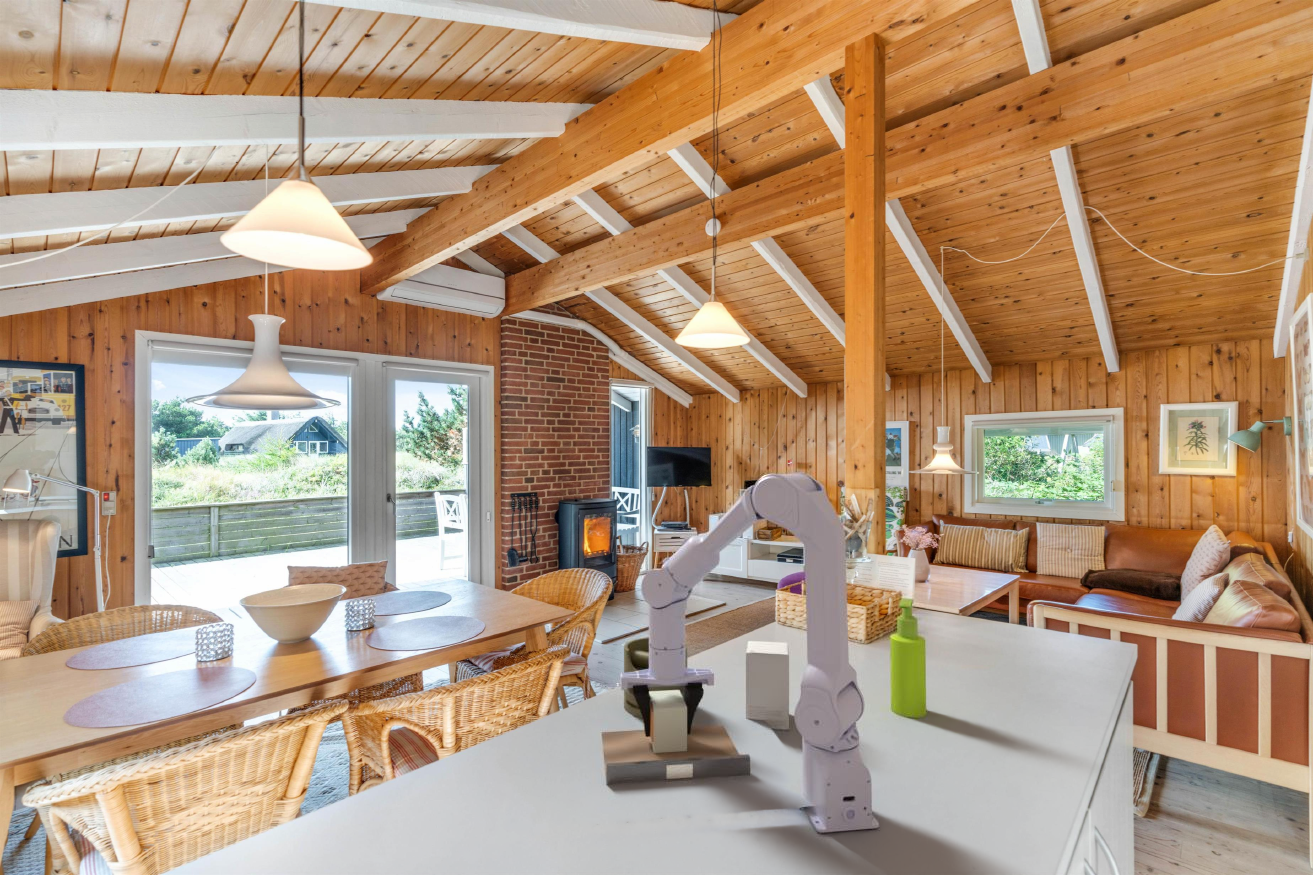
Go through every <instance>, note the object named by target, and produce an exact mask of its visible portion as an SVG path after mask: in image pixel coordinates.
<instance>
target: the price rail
mask: <svg viewBox="0 0 1313 875" xmlns="http://www.w3.org/2000/svg"><path fill="white" fill-rule="evenodd" d="M738 775H743V776H751V756H750V754H739V755H732V756H716V757H701V758H685V759H669V760H654V761H638V762H623V763H607V764H606V774H605V783H606V784H612V785H622V784H621V783H627V784H637V783H636V782H641V783H651V782H650V781H656V782H665V780H670V781H680V780H679V779H685V780H695V779H694V778H699V779H709V778H708V777H714V778H724V777H723V776H728V777H738ZM606 784H605V785H606Z"/></svg>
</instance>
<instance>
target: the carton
mask: <svg viewBox="0 0 1313 875" xmlns="http://www.w3.org/2000/svg"><path fill="white" fill-rule="evenodd" d="M649 695H650V739H651V743H652V747H653V751H654V753H662V752H678V751H687V706H686V704H685V702H684V699H683V697H682V695H681V693H680V690H667V691H649Z"/></svg>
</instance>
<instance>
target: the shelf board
mask: <svg viewBox="0 0 1313 875" xmlns="http://www.w3.org/2000/svg"><path fill="white" fill-rule="evenodd" d="M601 740H602V752H603V761H604V772H605V775H606V764H607V763H623V762H638V761H654V760H669V759H685V758H701V757H716V756H732V755H740V753H739V752H738V749H737V748H736V746H735V744H734V743H733V741H732V739H731V736H730V735H729V733H728V731H727V730H726V728H725V725H721V724H720V725H707V726H706V725H705V726H691V731H690V734H687V751H678V752H662V753H654V751H653V747H652V743H651V739H650V737H646V736H645V732H644V729H634V730H621V731H620V730H618V731H603V732H601ZM738 776H739V777H740V776H744V775H738ZM738 776H737V777H738ZM728 777H729V776H723V777H722V778H728ZM712 778H713V779H714V778H715V777H708V778H707V779H712ZM695 779H696V780H698V779H700V778H694V779H693V780H695ZM683 780H686V779H679V780H678V781H683ZM665 781H671V780H665ZM665 781H664V782H665ZM653 782H654V783H655V782H657V781H650V782H649V783H653ZM637 783H642V782H636V783H635V784H637ZM623 784H628V783H621V784H620V785H623ZM605 785H606V786H608V785H609V786H612V785H613V784H605Z"/></svg>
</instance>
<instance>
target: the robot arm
mask: <svg viewBox="0 0 1313 875" xmlns="http://www.w3.org/2000/svg"><path fill="white" fill-rule="evenodd" d="M764 520H766V521H768V522H770V523H773V524H775V525H777V526H780V527H781V528H784V529H785V530H788V531H789V532H790V534H792V535H793V536H794V537H795V538H797V539H798V540H799V541H800V542H801V543H802V544H803V546H804V578H805V580H804V581H805V582H804V583H805V584H804V585H805V587H804V588H805V614H806V617H805V618H806V621H805V622H806V623H805V624H806V653H807V654H806V656H807V657H806V658H807V659H806V660H807V662H806V663H807V664H806V667H805V671H804V674H803V677H802V680H801V683H800V697H799V700H798V702H797V704H796V706H795V708H794V713H793V714H794V723H795V726H796V729H797V731H798V732H799V733H800V735H801V737H802V740H801V742H802V745H801V746H802V795H803V797H804V799H805V800H806V801H807V802H808V803H809V804H810V805H808V806H801V808H802V810H803V811H804V813H805V815H806V817H807V818H808V820H809V821H810V823H811V824H812V826H813V827H814V828H815V830H816V832H818V833H821V834H822V833H834V832H846V831H857V830H859V831H860V830H868V829H871V830H872V829H878V828H879V827H880V823H879V821H878V820H877V819H876V818H875V817H874V815H873V809H872V808H873V802H872V798H873V797H872V796H873V793H872V790H873V789H872V784H873V783H872V776H871V773H870V771H869V769H868V767H867V766H866V764H865V762H864V761H863V759H862V756H861V752H860V751H861V750H860V735H859V731H858V728H857V722H858V721H859V720H860V719H861V718H862V717H863V714H864V711H865V698H864V696H863V693H862V691H861V689H860V687H859V684H858V681H857V680H858V679H857V677H858V676H857V671H856V669H855V668H854V667H853V665H851V664H850V661H849V659H850V658H849V656H850V655H849V632H848V627H849V625H848V623H849V621H848V620H849V619H848V592H847V560H846V559H847V556H846V554H847V553H846V530H845V526H844V524H843V522H842V521H841V518H840V516H838V513H837V512H836V510H835V508H834V507H833V505H832V503H831V501H830V500H829V498H828V495H827V491H826V487H825V486H824V485H823V484H821V482H819V481H818V480H816V479H815V478H814V477H812V476H811V475H809V474H808V473H805V472H800V471H798V472H791V473H784V474H783V473H781V474H779V473H769V474H768V473H767V474H765V475H763V476H762V477H760V478H759V479H757V481H756V482H755V484H753V485H751V486H750V487H747V489H745V491H744V492H743V494H742V495H741V496H740V498H738V500H737V501H736V502H735V503H734V504H733V505H732V506H731V507H730V508H729V509H728V510H727V511H726V512H725V514H723V516H721V518H719V520H718V521H717V522H715V524H714V525H713V526H712V527H711V528H710V529H709V530H708V531H707V532H706V534H704V535H703V536H702V535H693V536H691V537H690V536H689V537H684V538H683V539H682V540H681V541H680V545H681V547H680V548H678V549H677V550H676V551H675V553H674V554H672V555H671V556H668V557H665V558H664V559H663V560H662V566H661V568H653V569H649V570H647V571H646V574H645V575H644V577H643V578H642V579H641V580H642V581H641V585H640V587H641V588H640V589H641V594H642V597H643V600H645V602H646V603H647V604H648V637H649V669H646V670H640V671H635V672H628V673H624V672H621V673H619V674H620V675H619V678H620V679H619V680H620V682H619V684H620V690H621V691H624V690H627V689H628V688H632V690H633V694H634V697H635V700H636V702H637V704H638V707H639V709H640V712H641V714H642V718H641V719H642V722H643V728H644V729H643V730H644V732H645V736H646V737H650V695H649V689H648V687H659V686H679V685H683V692H684V702H685V704H686V706H687V734H690V731H691V727H692V726H693V725H692V724H693V720H694V717H695V715H696V714H695V713H696V711H697V709H698V706H699V704H700V703H701V701H702V699H703V697H704V693H705V692H704V691H705V690H704V687H703V685H706V686H708V687H710V686H712V687H713V686H714V685H715V673H714V671H713V670H712V669H711V668H692V667H691V668H690V667H687V668H685V643H686V610H687V609H688V608H687V606H688V603H687V602H688V599H689V598H690V597H691V595H692V593H693V589H694V587H695V586H696V585H698V584H699V583H700V582H701V581H702V580H704V578H706V577H707V576H708V575H709V574H710V573H711V572H712V571H713V570H714V569H715V568H717V566H719V564H720V558H721V557H720V555H721V554H720V553H721V552H722V551H723V550H724V549H726V548H727V546H729V545H730V544H732V543H733V541H735V540H736V539H738V538H739V537H740V536H741V535H742V534H744V533H745V532H746V531H747V530H749V529H750V528H751V527H752V526H754V525H755V523H757V522H760V521H764Z"/></svg>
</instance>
